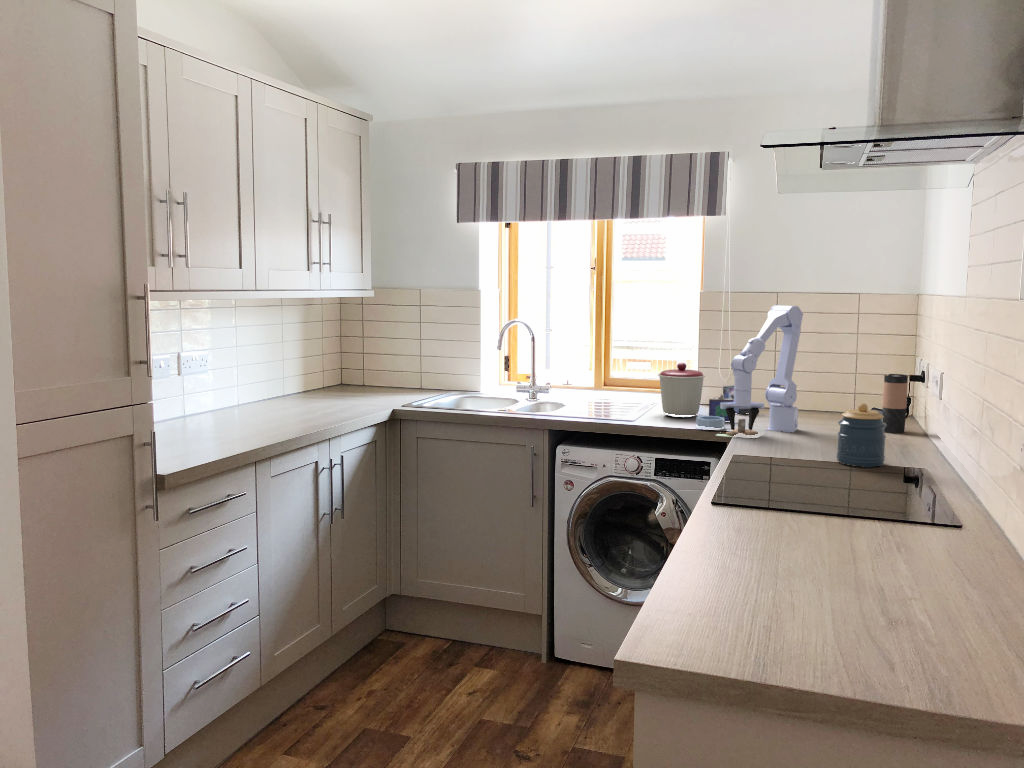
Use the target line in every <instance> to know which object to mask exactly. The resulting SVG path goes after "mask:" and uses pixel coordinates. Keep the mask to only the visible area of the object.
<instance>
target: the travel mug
mask: <svg viewBox="0 0 1024 768" xmlns="http://www.w3.org/2000/svg"><path fill="white" fill-rule="evenodd" d="M883 377H884V378H883V390H882V391H883V394H882V395H883V396H882V412H881V413H882V414H881V415H883V416H884V418H882V420H883V421H884V423H886V425H887V426H886V427H885V428H884V433H886V434H887V433H888V434H895V433H899V434H904V433H905V429H906V417H907V416H906V415H907V408H908V407H907V403H908V378H909V376H908V375H907V374H901V373H888V375H886V374H884V375H883Z"/></svg>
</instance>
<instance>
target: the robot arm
mask: <svg viewBox="0 0 1024 768" xmlns="http://www.w3.org/2000/svg"><path fill="white" fill-rule="evenodd" d="M803 316H804V313H803V311H802V310H801V308H800V307H799V306H797V305H779V304H774V305H773V306H771V307H770V309H769V311H768V312H767V319H766V321H765V322H764V323H763V325H762V327H761V329H760V331H759V332H758V334H757V335H756V337H752V338H750V339H749V340H748V341H747V343H746V345H745V347H744V348H743V349H742V351H741V352H740V353H739V354H738V355H736V356H734V357H733V358H732V361H731V362H730V367H731V370H732V371H733V373H732V375H733V378H734V381H733V383H734V384H733V385H734V402H726V403H720V408H721V409H725V411H726V413H727V415H728V418H729V421H730V423H729V424H730V429H732V430H734V429H736V427H735V419H736V414H735V411H734V409H748V410H749V414H748V430H753V428H754V427H753V426H754V423H755V422H756V419H757V417H758V415H759V413H760V410H764V409H765V403H764V402H755V401H754V402H753V401H752V390H751V389H752V382H753V380H752V379H753V378H752V377H753V371H755V370H756V368H757V362H758V359H759V358H760V356H761V355H762V353H763V352H764V350H765V349H766V342H767V341H768V340H769V339H770V337H772V335H773V334H774V333H775V331H776V330H777V329H780V330H781V331H782V333H783V335H782V340H781V347H780V352H779V355H778V356H779V357H778V363H777V367H776V373H775V377H774V378H772V379H771V380H770V381H769V382H768V387H767V388H766V390H765V393H764V396H765V400H766V401H767V402H768V403H767V404H768V405H769V416H768V418H769V419H768V420H769V422H768V427H767V428H765V431H768V430H772V431H771V432H779V431H783V432H782V433H790V432H793V433H795V432H796V431H798V430H799V427H798V426H799V425H798V423H799V408H798V407H797V406H794V404H795V403H796V401H797V398H798V395H797V387H798V386H797V384H796V383H795V382H794V380H792V379H793V378H792V377H793V373H794V367H795V363H796V357H797V353H798V347H799V343H800V336H801V332H802V331H801V328H802V322H803ZM737 406H742V407H737ZM747 406H748V407H747Z"/></svg>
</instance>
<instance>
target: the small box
mask: <svg viewBox="0 0 1024 768" xmlns="http://www.w3.org/2000/svg"><path fill="white" fill-rule="evenodd" d="M751 391H752V388H751ZM722 394H723V395H724V399H734V384H733V385H725V386H722ZM737 407H742V406H737ZM747 407H748V406H747ZM734 411H735V413H737V414H746V413H749V410H748V409H734Z"/></svg>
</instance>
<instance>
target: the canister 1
mask: <svg viewBox="0 0 1024 768" xmlns="http://www.w3.org/2000/svg"><path fill="white" fill-rule="evenodd" d="M686 368H687V364H686V363H685V362H679V363H678V364H677V366H676V368H675V369H665V370H663V371H661V372H660V373H657V376H658V377H659V386H660V397H661V398H660V399H661V405H662V411H663V413H664V412H665V413H668V414H675V415H696V414H697V415H698V413H699V411H700V406H701V401H702V393H703V385H704V378H706V374H704V373H703V372H702V371H700V370H696V369H694V370H693V369H686ZM697 415H696V416H697Z"/></svg>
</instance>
